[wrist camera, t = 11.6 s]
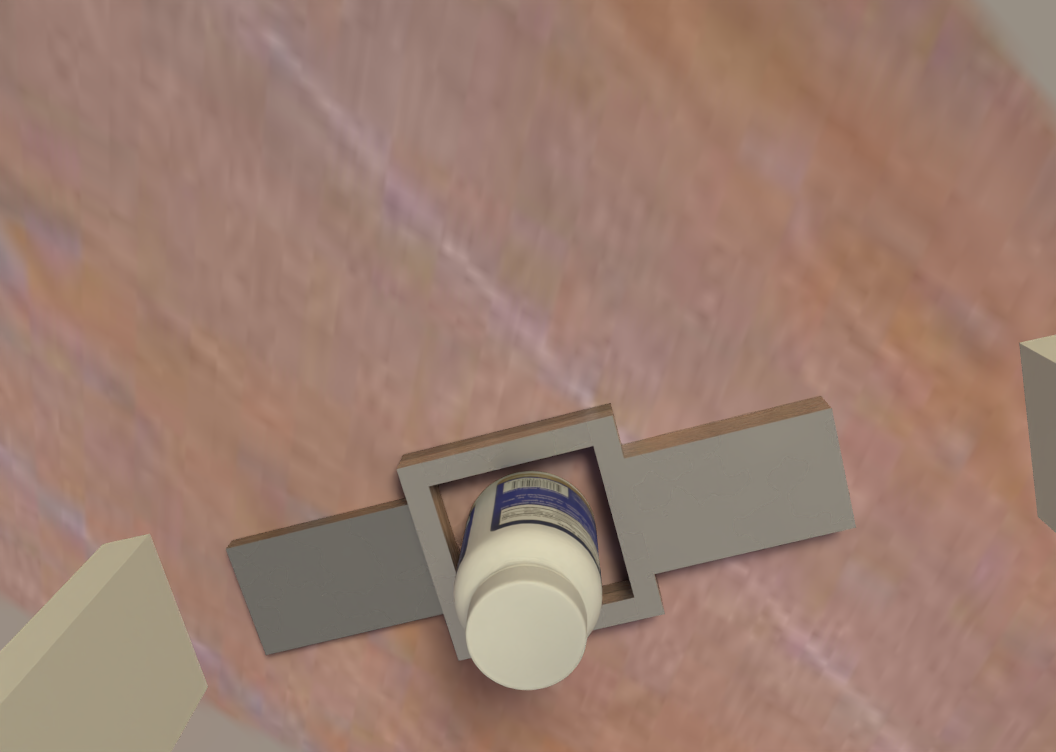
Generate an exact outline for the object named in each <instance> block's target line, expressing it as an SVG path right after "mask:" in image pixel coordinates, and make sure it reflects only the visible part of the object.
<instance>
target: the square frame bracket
mask: <svg viewBox="0 0 1056 752" xmlns="http://www.w3.org/2000/svg"><path fill="white" fill-rule="evenodd" d="M591 446H594V450H595V454H596V457H597V461H598V465H599V468H600V472H601V476H602V479H603V483H604V487H605V491H606V494H607V498H608V502H609V505H610V509H611V513H612V517H613V520H614V524H615V528H616V531H617V535H618V539H619V542H620V546H621V550H622V554H623V557H624V561H625V565H626V568H627V572H628V576H629V580H626V581H622V582H617V583H613V584H609V585H604V586H602V606H601V611H600V615H599V618H598V620H597V623H596V625H595V627H594V629H593V630H597V629H601V628H605V627H610V626H614V625H619V624H623V623H627V622H632V621H636V620H641V619H645V618H649V617H654V616H658V615H663V614H665V613H664V608H663V603H662V598H661V594H660V590H659V586H658V582H657V579H656V575H655V574H657V573H662V572H666V571H670V570H675V569H679V568H683V567H687V566H692V565H696V564H700V563H705V562H709V561H713V560H718V559H722V558H726V557H731V556H735V555H739V554H744V553H748V552H752V551H757V550H761V549H765V548H769V547H774V546H778V545H782V544H787V543H791V542H795V541H800V540H804V539H808V538H813V537H817V536H821V535H826V534H830V533H834V532H839V531H843V530H847V529H852V528H856V525H855V520H854V515H853V511H852V506H851V501H850V496H849V491H848V486H847V481H846V476H845V471H844V466H843V461H842V457H841V452H840V447H839V442H838V437H837V432H836V427H835V422H834V417H833V412H832V408H831V407H830V406H829V405H828V403H827V402H826V401H825V400H824V399H823V398H822V397H821V396H819V397H815V398H811V399H807V400H803V401H799V402H795V403H791V404H786V405H782V406H778V407H774V408H770V409H766V410H762V411H758V412H754V413H750V414H746V415H742V416H738V417H734V418H729V419H725V420H721V421H717V422H713V423H709V424H705V425H701V426H697V427H693V428H689V429H685V430H681V431H676V432H672V433H668V434H664V435H660V436H656V437H652V438H648V439H644V440H640V441H636V442H632V443H628V444H624V445H621V441H620V437H619V434H618V430H617V426H616V422H615V418H614V414H613V411H612V407H611V403H609V404H605V405H601V406H597V407H593V408H589V409H585V410H581V411H577V412H573V413H569V414H565V415H561V416H557V417H553V418H549V419H545V420H541V421H537V422H533V423H529V424H525V425H521V426H517V427H513V428H509V429H505V430H501V431H497V432H493V433H489V434H485V435H481V436H477V437H473V438H469V439H465V440H461V441H457V442H453V443H449V444H445V445H441V446H437V447H433V448H429V449H425V450H421V451H417V452H413V453H409V454H405V455H403V456H402V458H401V460H400V462H399V465H398V467H397V472H398V475H399V478H400V482H401V485H402V488H403V491H404V494H405V497H406V498H404V499H400V500H396V501H391V502H387V503H383V504H379V505H375V506H371V507H367V508H363V509H359V510H355V511H351V512H347V513H343V514H339V515H334V516H330V517H326V518H322V519H318V520H314V521H310V522H306V523H302V524H298V525H294V526H290V527H286V528H282V529H277V530H273V531H269V532H265V533H261V534H257V535H253V536H249V537H245V538H241V539H237V540H233V541H231V543H230V544H229V545H228V547H227V548H226V551H227V553H228V556H229V559H230V561H231V564H232V567H233V569H234V572H235V574H236V577H237V580H238V582H239V585H240V588H241V590H242V593H243V596H244V598H245V601H246V604H247V606H248V609H249V611H250V614H251V617H252V619H253V622H254V625H255V627H256V630H257V633H258V635H259V638H260V640H261V643H262V646H263V648H264V651H265V654H266V655H268V654H273V653H277V652H281V651H286V650H290V649H294V648H299V647H303V646H307V645H311V644H316V643H320V642H324V641H329V640H333V639H337V638H341V637H346V636H350V635H354V634H359V633H363V632H367V631H372V630H376V629H380V628H384V627H389V626H393V625H397V624H402V623H406V622H410V621H415V620H419V619H423V618H427V617H432V616H436V615H440V614H444V617H445V620H446V623H447V626H448V629H449V632H450V635H451V639H452V642H453V645H454V648H455V651H456V654H457V657H458V660H459V661H460V660H465V659H469V658H471V656H470V654H469V651H468V648H467V644H466V637H465V631H464V629H463V628H462V626H461V624H460V622H459V619H458V616H457V613H456V610H455V604H454V581H455V576H456V571H457V567H458V562H459V557H460V554H459V551H458V548H457V544H456V541H455V538H454V535H453V532H452V529H451V525H450V522H449V519H448V516H447V513H446V510H445V506H444V503H443V500H442V497H441V494H440V490H439V487H438V484H441V483H445V482H449V481H453V480H457V479H461V478H465V477H469V476H473V475H477V474H481V473H485V472H489V471H493V470H498V469H502V468H506V467H510V466H514V465H518V464H522V463H526V462H530V461H534V460H538V459H542V458H546V457H550V456H554V455H558V454H563V453H567V452H571V451H575V450H579V449H583V448H587V447H591Z"/></svg>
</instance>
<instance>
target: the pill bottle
mask: <svg viewBox="0 0 1056 752" xmlns="http://www.w3.org/2000/svg"><path fill="white" fill-rule="evenodd" d="M454 604H455V610H456V613H457V616H458V619H459V622H460V624H461V626H462V628H463V629H464V631H465V637H466V644H467V648H468V651H469V654H470V656H471V658H472V660H473V662H474V663H475V665H476V666H477V667H478V668H479V670H480V671H481V672H482V673H483V674H484V675H486V676H487V677H488V678H490V679H491V680H493V681H494V682H496V683H498V684H500V685H503V686H505V687H508V688H513V689H518V690H537V689H542V688H546V687H549V686H552V685H554V684H556V683H558V682H560V681H561V680H563V679H564V678H566V677H567V676H568V675H569V674H570V673H571V672H572V671H573V670H574V669H575V668H576V666H577V665H578V664H579V662H580V660H581V658H582V656H583V654H584V651H585V647H586V642H587V638H588V636H589V635H590V633H591V632H592V630H593V629H594V627H595V625H596V623H597V620H598V618H599V615H600V611H601V606H602V581H601V571H600V563H599V554H598V543H597V533H596V525H595V519H594V515H593V512H592V510H591V508H590V506H589V504H588V502H587V501H586V499H585V498H584V496H583V495H582V494H581V493H580V492H579V490H577V489H576V488H575V487H574V486H573V485H572V484H570V483H569V482H567V481H566V480H564V479H562V478H560V477H558V476H555V475H553V474H549V473H545V472H539V471H524V472H517V473H513V474H510V475H507V476H505V477H503V478H501V479H499V480H497V481H495V482H494V483H492V484H491V485H489V486H488V487H487V488H486V489H485V490H484V491H483V492H482V493H481V494H480V495H479V497H478V498H477V500H476V501H475V503H474V505H473V507H472V509H471V511H470V514H469V517H468V521H467V524H466V529H465V534H464V538H463V543H462V548H461V553H460V557H459V562H458V567H457V571H456V576H455V581H454Z"/></svg>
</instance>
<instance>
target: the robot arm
mask: <svg viewBox="0 0 1056 752" xmlns="http://www.w3.org/2000/svg"><path fill="white" fill-rule="evenodd" d="M1019 345H1020V354H1021V364H1022V373H1023V382H1024V392H1025V401H1026V411H1027V420H1028V429H1029V439H1030V448H1031V457H1032V467H1033V476H1034V486H1035V495H1036V504H1037V514H1038V517H1039V518H1040V519H1041V520H1042V521H1043V522H1044V523H1045V524H1047V525H1048V526H1049V527H1050V528H1051V529H1052V530H1053V531H1054V532H1056V335H1053V336H1048V337H1044V338H1039V339H1035V340H1030V341H1025V342H1021V343H1019ZM207 687H208V686H207V683H206V680H205V678H204V675H203V672H202V670H201V667H200V665H199V662H198V659H197V657H196V654H195V651H194V649H193V646H192V643H191V641H190V638H189V636H188V633H187V630H186V628H185V625H184V622H183V620H182V617H181V615H180V612H179V609H178V607H177V604H176V601H175V599H174V596H173V593H172V591H171V588H170V586H169V583H168V580H167V578H166V575H165V572H164V570H163V567H162V565H161V562H160V559H159V557H158V554H157V551H156V549H155V546H154V543H153V541H152V538H151V536H150V534H147V535H142V536H138V537H133V538H129V539H124V540H120V541H115V542H111V543H106V544H103V545H102V546H101V547H100V548H99V549H98V550H97V551H96V552H95V553H94V554H93V555H92V556H91V557H90V558H89V559H88V560H87V561H86V562H85V564H84V565H83V566H82V567H81V568H80V569H79V570H78V571H77V572H76V573H75V574H74V575H73V576H72V577H71V578H70V579H69V580H68V581H67V582H66V583H65V584H64V585H63V586H62V588H61V589H60V590H59V591H58V592H57V593H56V594H55V595H54V596H53V597H52V598H51V599H50V600H49V601H48V602H47V603H46V604H45V605H44V606H43V607H42V608H41V609H40V611H39V612H38V613H37V614H36V615H35V616H34V617H33V618H32V619H31V620H30V621H29V622H28V623H27V624H26V625H25V626H24V627H23V628H22V629H21V630H20V631H19V633H18V634H17V635H16V636H15V637H14V638H13V639H12V640H11V641H10V642H9V643H8V644H7V645H6V646H5V647H4V648H3V649H2V650H1V651H0V752H172V750H173V748H174V746H175V745H176V743H177V741H178V739H179V738H180V736H181V733H182V732H183V730H184V729H185V727H186V725H187V723H188V721H189V720H190V718H191V716H192V714H193V712H194V711H195V709H196V707H197V705H198V704H199V702H200V700H201V698H202V696H203V695H204V693H205V691H206V689H207Z"/></svg>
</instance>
